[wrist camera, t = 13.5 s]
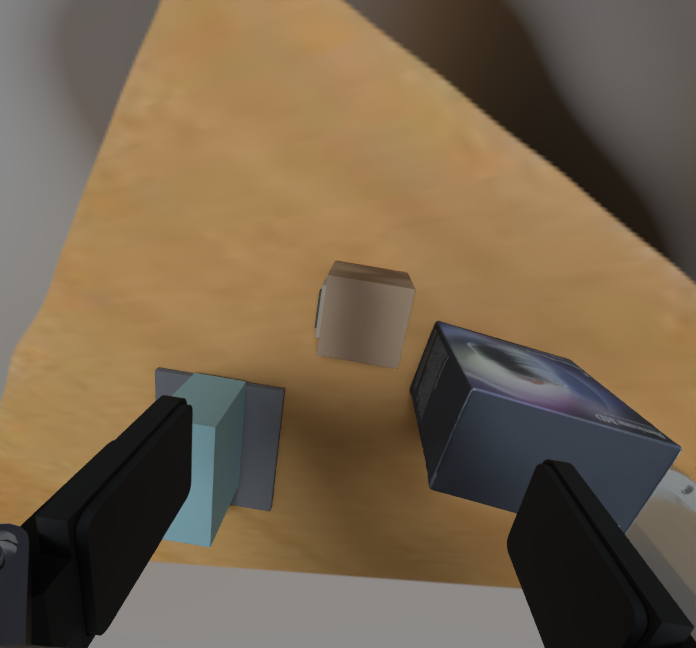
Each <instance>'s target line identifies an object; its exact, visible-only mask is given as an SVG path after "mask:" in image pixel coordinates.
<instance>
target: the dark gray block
mask: <svg viewBox="0 0 696 648" xmlns="http://www.w3.org/2000/svg"><path fill="white" fill-rule="evenodd" d="M193 374H194V373H189V372H183V371H177V370H171V369H165V368H159V367H158V368H157V369H156V370H155V390H156V400H157V399H159V398H160V397H161V396H162V395H168V396H172V395H173V394H174V393H175V392H176V391H177V390H178V389H179V388H180V387H181V386H182V385H183V384H184V383H185V382H186V381H187V380H188V379H189V378H190V377H191V376H192V375H193ZM284 391H285V388H279V387H273V386H267V385H261V384H255V383H249V382H246V393H245V407H244V421H243V434H242V448H241V462H240V476H239V485H238V488H237V490H236V492H235V494H234V496H233V499H232V501H231V503H230V505H235V506H241V507H247V508H253V509H259V510H265V511H270V510H271V507H272V499H273V490H274V481H275V472H276V463H277V454H278V445H279V436H280V427H281V418H282V409H283V400H284Z"/></svg>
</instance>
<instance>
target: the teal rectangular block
mask: <svg viewBox="0 0 696 648" xmlns="http://www.w3.org/2000/svg"><path fill="white" fill-rule="evenodd" d="M245 393H246V381H241V380H235V379H229V378H223V377H217V376H211V375H205V374H199V373H194V374H193V375H192V376H191V377H190V378H189V379H188V380H187V381H186V382H185V383H184V384H183V385H182V386H181V387H180V388H179V389H178V390H177V391H176V392H175V393H174V394H173V395H172V396H174V397H180V398H185V399H186V401H187V404H188V405H191V406H192V408H193V424H192V478H191V489H190V492H189V495H188V497H187V499H186V501H185V503H184V504H183V506H182V507H181V509H180V511H179V512H178V514H177V516H176V517H175V519H174V521H173V522H172V524H171V526H170V527H169V529H168V530H167V532H166V534H165V535H164V537H163V539H164V540H170V541H176V542H182V543H188V544H194V545H199V546H205V547H211V544H212V542H213V540H214V538H215V536H216V534H217V531H218V529H219V527H220V525H221V523H222V520H223V518H224V516H225V514H226V512H227V509H228V507H229V505H230V503H231V501H232V499H233V496H234V494H235V492H236V490H237V488H238V485H239V476H240V462H241V448H242V434H243V421H244V407H245Z"/></svg>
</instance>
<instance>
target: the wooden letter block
mask: <svg viewBox="0 0 696 648" xmlns="http://www.w3.org/2000/svg"><path fill="white" fill-rule="evenodd" d="M414 294H415V287H414V285H413V283H412V281H411V279H410V277H409V275H408V273H407V272H401V271H395V270H389V269H383V268H377V267H371V266H365V265H359V264H353V263H348V262H342V261H335V263H334V265H333V266H332V268H331V270H330V272H329V274H328V275H327V277H326V279H325V281H324V283H323V285H322V289H320V292H319V299H318V307H317V314H316V322H315V328H316V336H315V338H319V341H318V348H317V355H319V356H325V357H331V358H337V359H343V360H348V361H354V362H360V363H366V364H372V365H378V366H384V367H390V368H396V369H398V366H399V361H400V357H401V352H402V348H403V343H404V339H405V334H406V330H407V325H408V321H409V317H410V312H411V308H412V303H413V299H414Z"/></svg>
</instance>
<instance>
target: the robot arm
mask: <svg viewBox="0 0 696 648" xmlns="http://www.w3.org/2000/svg"><path fill="white" fill-rule="evenodd" d="M192 424H193V408H192V406H191V405H188V404H187V401H186V399H185V398H180V397H174V396H168V395H162V396H161V397H160V398H159V399H157V400H156V401H155V402H154V403H153V404H152V405H151V406H150V407H149V408H148V409H147V410H146V411H145V412H144V413H143V414H142V415H141V416H140V417H139V418H138V419H136V420H135V421H134V422H133V423H132V424H131V425H130V426H129V427H128V428H127V429H126V430H125V431H124V432H123V433H122V434H121V435H120V436H119V437H118V438H117V439H115V440H114V441H111V442H110V443H109V444H107V445H106V446H105V447H104V448H103V449H102V450H101V451H100V452H99V453H98V454H96V455H95V456H94V457H93V458H92V459H91V460H90V461H89V462H88V463H87V464H86V465H85V466H84V467H83V468H82V469H81V470H79V471H78V472H77V473H76V474H75V475H74V476H73V477H72V478H71V479H70V480H69V481H68V482H67V483H66V484H65V485H64V486H62V487H61V488H60V489H59V490H58V491H57V492H56V493H55V494H54V495H53V496H52V497H51V498H50V499H49V500H48V501H47V502H45V503H44V504H43V505H42V506H41V507H40V508H39V509H38V510H37V511H36V512H35V513H34V514H33V515H32V516H31V517H30V518H29V519H27V520H26V521H25V522H24V523H23V524H22V525H21V526H17V525H13V524H0V648H88V646H89V644H90V643H91V641H92V640H93V638H94V637H95V635H102V634H103V633H104V632H105V631H106V630H107V629H108V627H109V626H110V624H111V623H112V621H113V619H114V618H115V616H116V614H117V612H118V611H119V609H120V608H121V606H122V604H123V603H124V601H125V599H126V598H127V596H128V595H129V593H130V591H131V589H132V588H133V586H134V585H135V583H136V581H137V580H138V578H139V576H140V575H141V573H142V572H143V570H144V568H145V566H146V565H147V563H148V562H149V560H150V558H151V557H152V555H153V553H154V552H155V550H156V549H157V547H158V545H159V544H160V542H161V540H162V539H163V537H164V535H165V534H166V532H167V530H168V529H169V527H170V526H171V524H172V522H173V521H174V519H175V517H176V516H177V514H178V512H179V511H180V509H181V507H182V506H183V504H184V503H185V501H186V499H187V497H188V495H189V492H190V489H191V478H192ZM507 549H508V553H509V556H510V558H511V561H512V564H513V566H514V569H515V571H516V574H517V577H518V579H519V582H520V584H521V587H522V590H523V592H524V595H525V597H526V600H527V603H528V605H529V607H530V610H531V613H532V616H533V618H534V621H535V623H536V626H537V628H538V631H539V634H540V636H541V639H542V641H543V644H544V647H545V648H696V483H695V482H694V481H693V480H692V479H691V478H690V477H688V476H687V475H686V474H685V473H683V472H682V471H680V470H678V469H677V468H675V467H673V466H671V467H670V469H669V470H668V472H667V474H666V475H665V476H664V478H663V479H662V481H661V482H660V483H659V485H658V487H657V488H656V490H655V491H654V493H653V494H652V496H651V497H650V499H649V500H648V501H647V503H646V504H645V506H644V508H643V509H642V511H641V512H640V513H639V515H638V516H637V518H636V519H635V521H634V522H633V524H632V525H631V527H630V529H629V530H628V531H627V533H626V535H625V534H624V532H623V531H622V530H621V529H620V527H619V526H618V525H617V523H616V522H615V521H614V519H613V518H612V517H611V515H610V514H609V513H608V511H607V510H606V509H605V507H604V506H603V505H602V503H601V502H600V501H599V499H598V498H597V497H596V495H595V494H594V493H593V491H592V490H591V489H590V487H589V486H588V485H587V483H586V482H585V481H584V479H583V478H582V477H581V475H580V474H579V473H578V471H577V470H576V469H575V467H574V466H573V465H572V464H571V463H568V462H562V461H556V460H550V459H546V460H545V461H543V463H542V464H538V465H537V466H536V468H535V470H534V473H533V475H532V478H531V480H530V483H529V485H528V488H527V490H526V493H525V495H524V498H523V500H522V503H521V505H520V508H519V510H518V513H517V515H516V518H515V520H514V523H513V525H512V528H511V530H510V533H509V535H508V539H507Z"/></svg>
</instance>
